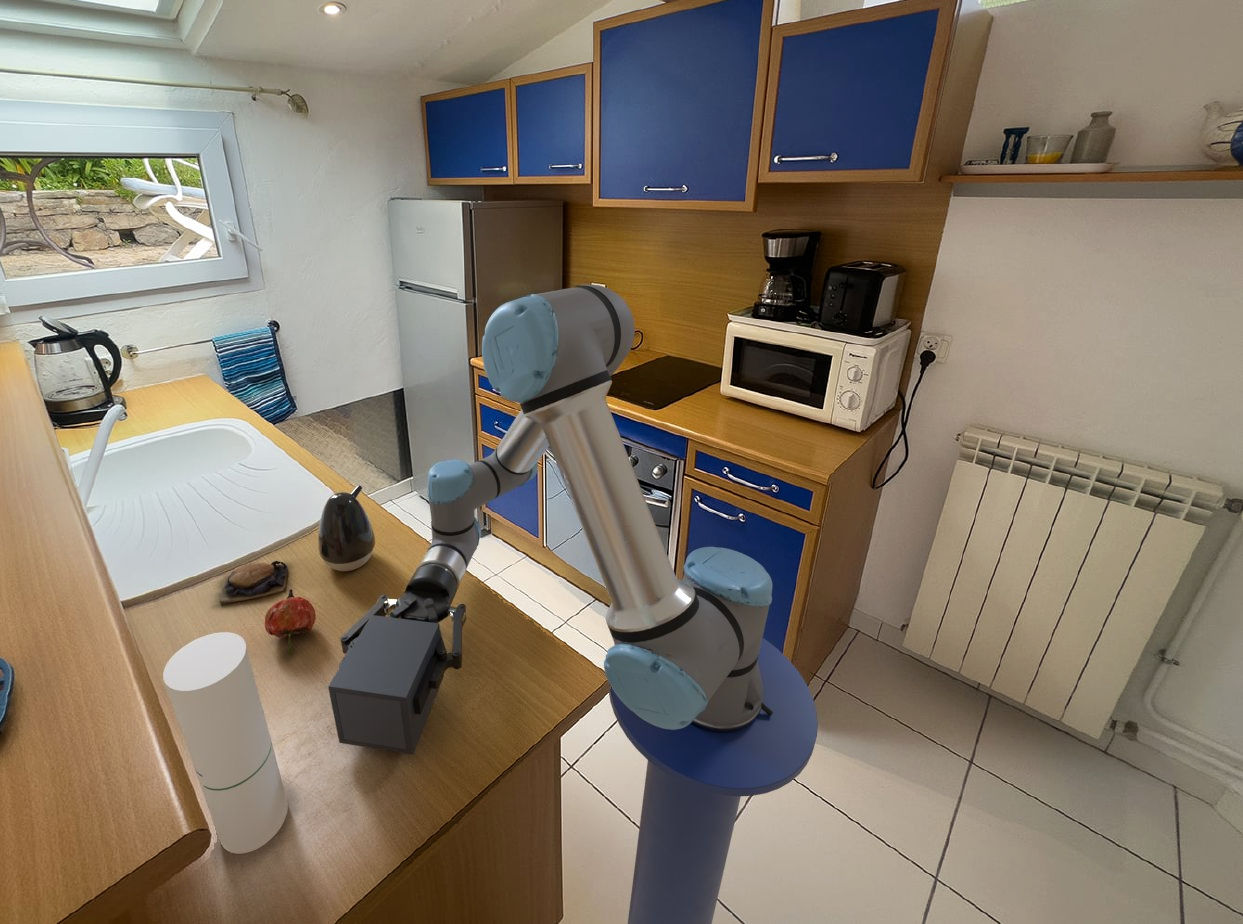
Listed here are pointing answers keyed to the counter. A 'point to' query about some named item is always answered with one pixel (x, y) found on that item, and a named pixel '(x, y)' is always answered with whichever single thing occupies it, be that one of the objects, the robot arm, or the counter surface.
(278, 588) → the bread roll
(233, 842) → the cylindrical container
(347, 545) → the pump dispenser
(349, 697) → the dark grey box
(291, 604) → the pomegranate
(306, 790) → the counter surface
